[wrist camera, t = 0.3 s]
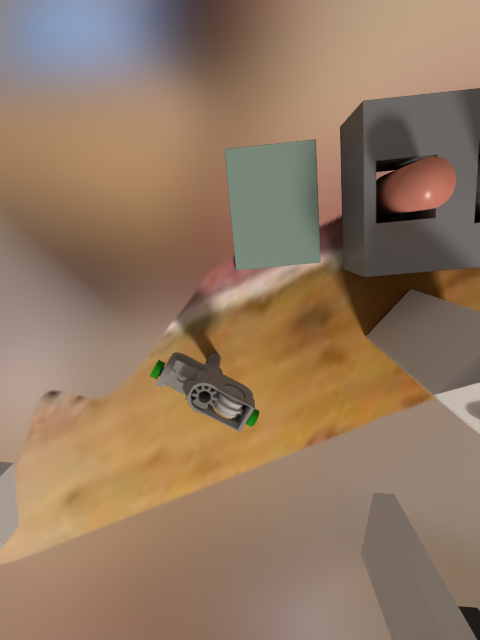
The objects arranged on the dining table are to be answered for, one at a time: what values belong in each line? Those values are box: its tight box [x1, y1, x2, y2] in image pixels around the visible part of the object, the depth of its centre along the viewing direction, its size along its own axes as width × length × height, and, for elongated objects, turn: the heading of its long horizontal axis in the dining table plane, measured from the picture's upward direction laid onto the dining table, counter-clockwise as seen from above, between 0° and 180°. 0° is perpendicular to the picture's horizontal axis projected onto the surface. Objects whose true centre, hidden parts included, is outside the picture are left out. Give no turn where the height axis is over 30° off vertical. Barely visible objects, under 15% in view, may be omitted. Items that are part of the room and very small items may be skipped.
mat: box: [225, 140, 320, 270], centre depth 36 cm, size 12×9×1 cm
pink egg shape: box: [376, 156, 456, 214], centre depth 29 cm, size 4×4×8 cm
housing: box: [340, 88, 480, 277], centre depth 33 cm, size 14×17×7 cm
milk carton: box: [366, 289, 480, 434], centre depth 30 cm, size 7×7×19 cm
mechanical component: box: [150, 353, 259, 432], centre depth 36 cm, size 3×10×10 cm, turn 61°
